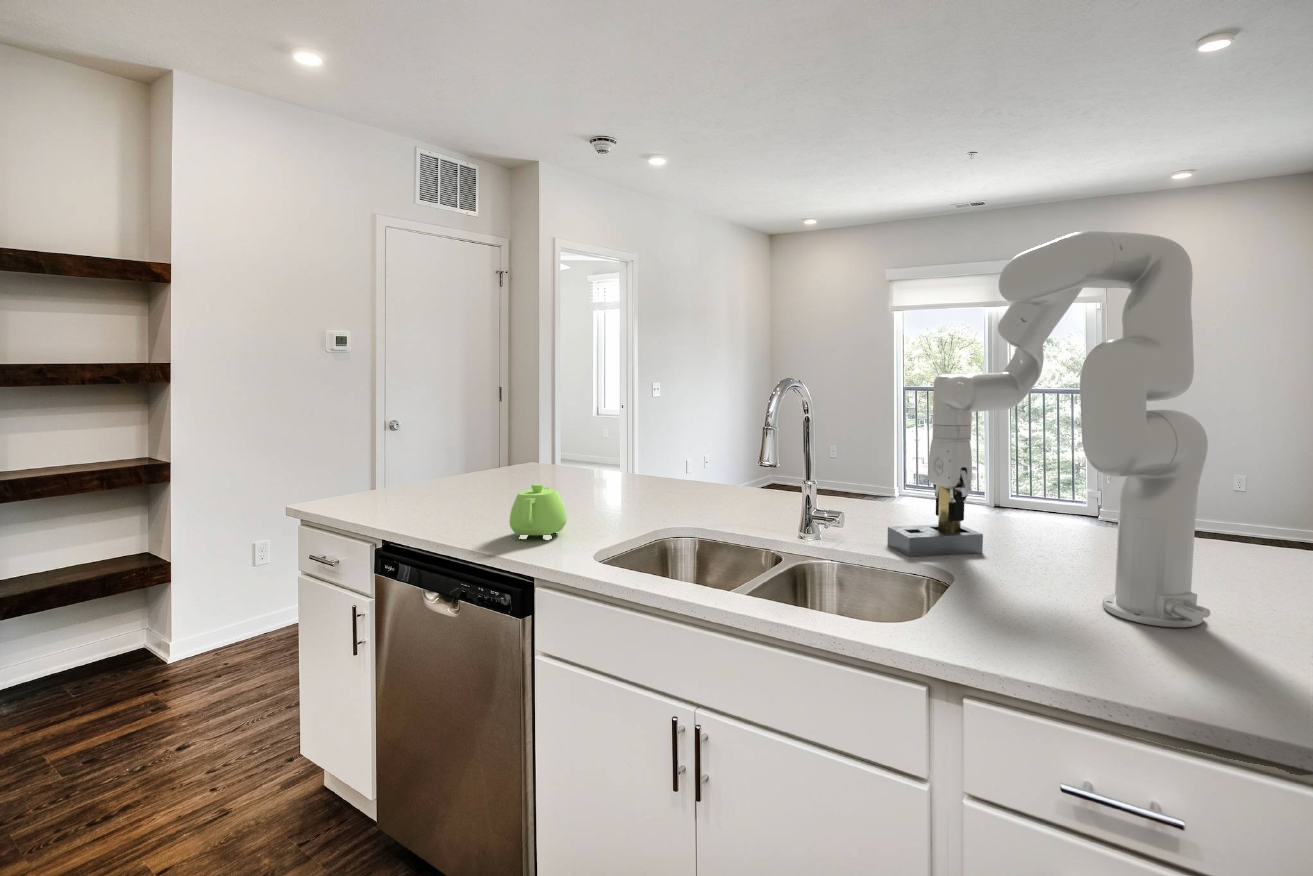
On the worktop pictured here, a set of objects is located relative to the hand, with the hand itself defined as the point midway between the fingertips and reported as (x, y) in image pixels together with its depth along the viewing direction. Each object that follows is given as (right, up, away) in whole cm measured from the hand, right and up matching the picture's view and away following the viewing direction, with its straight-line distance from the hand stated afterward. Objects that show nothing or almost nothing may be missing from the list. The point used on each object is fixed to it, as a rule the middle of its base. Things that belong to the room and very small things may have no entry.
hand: (949, 517), depth 146 cm
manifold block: (-3, -7, 0) cm, 8 cm away
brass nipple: (0, -3, 0) cm, 3 cm away
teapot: (-91, -7, +19) cm, 93 cm away
